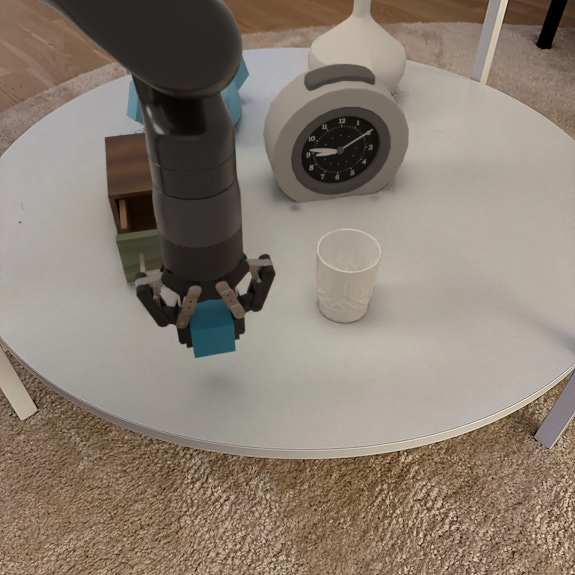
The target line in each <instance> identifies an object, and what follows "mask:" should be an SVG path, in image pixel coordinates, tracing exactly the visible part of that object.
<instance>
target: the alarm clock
mask: <svg viewBox="0 0 575 575" xmlns="http://www.w3.org/2000/svg"><path fill="white" fill-rule="evenodd" d="M406 118H407V117H406V115H405V114H404V111H403V110H402V108H401V107H400V106H399V104H398V103H397V101H396V99H395V98H394V97H393V95H392V94H391V93H390V92H389V90H388V89H387V88H386V86H385V85H384V83H383V82H382V80H381V79H380V78H378V77H377V76H376V75H374V74H373V73H372V71H371V70H370V69H368V68H367V67H364V66H360V65H354V64H329V65H325V66H320V67H315V68H313V69H311V70H309V69H308V70H307V71H305V72H302V73H301V74H299V75H297V76H296V77H295V78H294V79H292V80H291V81H290V82H288V83H287V84H286V85H285V86H284V87H282V88H281V90H280V91H279V92H278V94H277V95H276V97H275V98H274V99H273V101H272V102H271V104H270V106H269V108H268V111H267V113H266V116H265V118H264V124H263V131H262V132H263V133H262V137H263V144H264V149H265V153H266V155H267V159H268V162H269V165H270V168H271V171H272V174H273V177H274V179H275V180H276V182H277V185H278V186H279V189H280V190H281V191H283V192H284V193H285V195H287V197H289V198H290V199H291V200H292V201H295V202H296V203H305V202H313V201H314V202H315V201H321V200H329V199H335V198H336V199H337V198H345V197H353V196H359V195H361V196H362V195H367V194H375V193H378V192H379V191H380V190H382V189H383V188H384V187H385V186H386V185H387V184H388V183H389V182H390V181H391V180H392V179H393V178H394V177H395V176H396V174H397V172H398V170H399V169H400V167H401V165H402V164H403V162H404V160H405V157H406V153H407V151H408V148H409V139H410V138H409V136H410V129H409V126H408V125H409V124H408V122H407V119H406Z"/></svg>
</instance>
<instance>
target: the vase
mask: <svg viewBox="0 0 575 575" xmlns="http://www.w3.org/2000/svg"><path fill="white" fill-rule="evenodd" d="M371 4H372V0H353V7H352V13H351V14H350V16H348V17H347V18H346V19H345V20H343V21H342V22H340V23H339V24H337V25H336V26H335V27H333V28H331V29H330V30H328V31H326V32H324V33H322V34H321V35H320V36H318V37H316V39H315V40H313V42H312V44H311V45H310V47H309V51H308V54H307V69H308V71H309V70H311V69H313V68H315V67H320V66H325V65H329V64H354V65H360V66H364V67H367V68H368V69H370V70H371V71H372V73H373V74H374V75H376V76H377V77H378V78H380V79H381V80H382V82H383V83H384V85H385V86H386V88H387V89H388V90H389V92H390V93H391V95H392V94H393V93H394V91H395V90H396V88H397V87H398V85H399V84H400V81H402V79H403V77H404V75H405V71H406V66H407V54H406V50H405V48H404V46H403V44H402V43H401V42H399V40H397V39H396V38H395V37H393V35H392V34H390V33H389V32H388V31H387V30H385V29H384V27H382V26H381V25H380V24H378V22H377V21H375V20H374V18H373V16H372V15H371Z"/></svg>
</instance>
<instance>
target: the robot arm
mask: <svg viewBox="0 0 575 575" xmlns="http://www.w3.org/2000/svg"><path fill="white" fill-rule="evenodd" d="M36 1H38V2H39V3H41V4H43V5H45V6H46V7H49V8H50V9H52V10H53V11H55V12H56V13H57V14H59V15H60V16H62V17H63V18H64V19H66V20H67V22H69V23H71V24H72V25H73V26H74V27H75V28H76V29H77V30H78V31H79V32H81V33H82V34H83V35H84V36H85V37H86V38H87V39H88V40H90V41H91V42H92V43H93V44H95V45H96V46H97V47H98V48H100V49H101V50H102V51H103V52H105V54H107V55H108V56H109V57H110V58H111V59H113V60H114V61H115V62H116V63H118V64H119V65H120V66H122V67H123V68H124V69H126V70H127V71H128V72H129V73H130V75H131V79H132V80H133V83H134V87H135V90H136V94H137V97H138V101H139V104H140V107H141V111H142V116H143V122H144V125H143V127H144V132H145V138H146V147H147V154H148V159H149V165H150V171H151V177H152V198H153V207H154V215H155V218H156V224H157V229H158V235H159V240H160V246H161V252H162V257H163V264H162V266H161V268H160V272H158V273H155V274H152V275H150V276H147V274H146V273H143V272H139V273H137V274H136V275H135V282H134V285H135V292H136V293H135V294H136V298H137V299H138V300H139V301H140V303H141V304H142V306H143V307H144V309H145V310H146V311H147V313H148V314H149V315H150V317H151V318H152V319H153V321H154V322H155V323H156V325H157V326H158V327H159V328H167V327H168V326H169V325H173V326H175V327H176V332H177V338H178V342H179V343H180V345H186V349H191V348H193V344H192V337H191V330H190V324H189V320H190V316H191V315H193V313H194V309H195V306H196V303H201V302H204V301H207V300H219V299H223V300H224V302H225V304H226V305H227V307H228V309H230V310H231V314H232V319H233V323H234V333H235V341H237V340H241V337H240V336H241V335H244V334H245V333H246V318H245V317H246V316H247V315H246V314H247V313H249V312H253V313H258V312H260V311H262V310H263V308H264V305H265V302H266V300H267V297H268V295H269V293H270V290H271V288H272V285H273V283H274V280H275V277H276V274H277V273H276V270H275V266H274V263H273V260H272V258H271V255H270V254H268V253H263V254H261V255H259V257H258V258H248V256H247V254H246V253H245V252H244V239H243V237H244V236H243V234H244V233H243V232H244V231H243V210H242V193H241V192H242V191H241V188H240V183H239V178H238V171H237V170H238V169H237V168H238V167H237V149H236V148H237V147H236V146H237V144H236V133H235V128H234V127H235V126H234V127H233V122H232V119H231V116H230V113H229V111H228V109H227V107H226V104H225V102H224V100H223V97H222V94H221V91H223V90H224V89H225V88H226V87H228V86H229V85H230V83H231V82H232V81H233V79H234V78H235V76H236V74H237V73H238V70H239V68H240V64H241V60H242V56H243V38H242V33H241V29H240V26H239V25H238V22H237V20H236V17H235V15H234V14H233V12H232V11H231V9H230V8H229V7H228V5H227V4H226V3H225V2H224V0H36ZM248 273H250V276H251V279H250V281H249V283H248V287H247V289H246V292H245V293H243V294H241V293H240V292H239V289H238V288H237V286H238V285H239V284H240V283H241V281H242V280H243V279H244V278H246V275H247V274H248ZM162 286H164V287H166V288H167V289H169V290H170V291H172V292H173V293H175V294H176V296H175V301H174V304H173V305H168V303H167V301H166V300H165V299H164V297H162V295H161V294H162V288H161V287H162Z"/></svg>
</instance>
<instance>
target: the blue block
mask: <svg viewBox="0 0 575 575" xmlns="http://www.w3.org/2000/svg"><path fill="white" fill-rule="evenodd" d="M189 324H190V330H191V337H192V344H193V347H192V350H193V356H194V358H195V359H199V358H204V357H205V358H206V357H209V356H215V355H221V354H227V353H233V352H236V350H237V349H236V340H235V333H234V323H233V319H232V314H231V310H230V309H228V307H227V305H226V304H225V302H224V300H223V299H219V300H207V301H204V302H201V303H196V306H195V309H194V313H193V315H191V316H190V320H189Z"/></svg>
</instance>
